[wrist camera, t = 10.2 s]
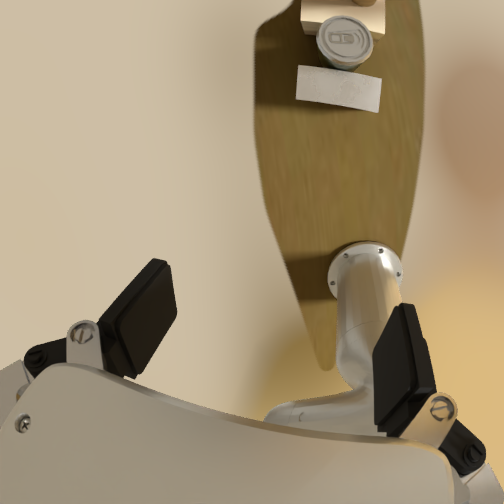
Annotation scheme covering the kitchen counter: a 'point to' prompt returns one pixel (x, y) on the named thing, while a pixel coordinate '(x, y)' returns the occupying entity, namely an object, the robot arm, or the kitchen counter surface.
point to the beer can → (343, 43)
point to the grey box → (338, 88)
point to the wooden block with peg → (348, 4)
